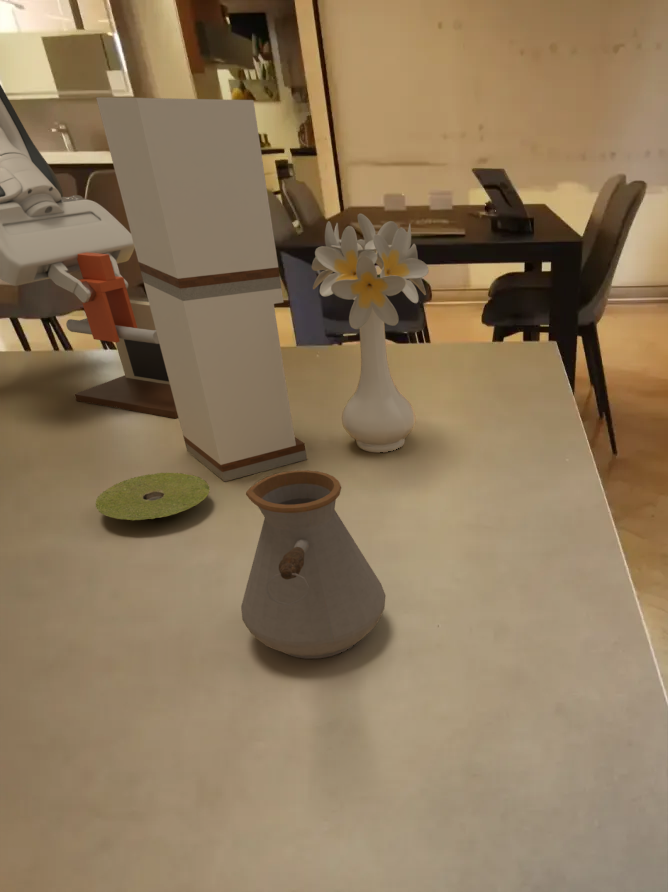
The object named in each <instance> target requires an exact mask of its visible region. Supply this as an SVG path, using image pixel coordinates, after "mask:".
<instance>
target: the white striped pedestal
mask: <svg viewBox="0 0 668 892" xmlns="http://www.w3.org/2000/svg"><path fill="white" fill-rule="evenodd" d="M95 99H96V102H97V106H98V110H99V114H100V118H101V122H102V126H103V130H104V133H105V138H106V141H107V142H106V143H107V146H108V149H109V154H110V158H111V161H112V164H113V169H114V173H115V177H116V180H117V185H118V188H119V192H120V196H121V200H122V204H123V208H124V211H125V217H126V219H127V224H128V227H129V232H130V233H131V235H132V239H133V243H134V247H135V248H134V251H135V254H136V258H137V263H138V265H139V269H140V273H141V278H142V281H143V285H144V290H145V293H146V297H147V300H148V301H147V302H149V305H150V309H151V313H152V316H153V320H154V324H155V328H156V332H157V336H158V340H159V344H160V348H161V351H162V355H163V359H164V363H165V367H166V371H167V375H168V379H169V382H170V386H171V390H172V394H173V398H174V402H175V406H176V410H177V413H178V417H177V418H178V422H179V424H180V425H179V426H180V428H181V433H182V437H183V440H184V445H185V448H186V452H187V453H189V454H190V455H191V456H192V457H193V458H194V459H196V460H197V461H198V462H200V463H201V464H202V465H204V466H205V467H206V468H207V469H208V470H210V471H211V472H212V473H213V474H215V476H217V477H218V478H220V480H222V481H223V482H229V481H232V480H235V479H239V478H243V477H247V476H251V475H254V474H257V473H262V472H266V471H269V470H273V469H276V468H281V467H285V466H287V465H292V464H295V463H299V462H302V461H306V460H308V456H307V449H306V444H305V442H303V441H301V439H299V438H297V437H296V436H295V430H294V425H293V417H292V412H291V411H292V410H291V404H290V399H289V392H288V385H287V381H286V380H287V379H286V373H285V367H284V360H283V354H282V347H281V342H280V341H281V340H280V335H279V329H278V322H277V315H276V309H275V304H276V305H277V304H282V303H284V295H283V289H282V282H281V276H280V268H279V261H278V256H277V249H276V248H277V247H276V243H275V242H276V241H275V236H274V228H273V222H272V215H271V209H270V202H269V194H268V189H267V182H266V174H265V168H264V162H263V155H262V148H261V142H260V134H259V129H258V128H259V127H258V121H257V114H256V108H255V107H256V106H255V102H254V99H219V98H218V99H217V98H216V99H215V98H214V99H213V98H209V99H208V98H169V97H168V98H167V97H166V98H164V97H162V98H161V97H154V98H153V97H101V96H100V97H96V98H95Z"/></svg>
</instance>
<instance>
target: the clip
mask: <svg viewBox="0 0 668 892" xmlns="http://www.w3.org/2000/svg"><path fill="white" fill-rule="evenodd" d="M77 255H78V258H77V261H78V264H79V267H80V271H81V272H80V273H81V277H82V278H79V279H78V280H79V281H81V282H84V281H87V282H88V283H89V285H90V286H91V287H92V288H93V289H94V290H95V292H96V296H95V297H94V300H93V301H90V302H86V303H83V302H82V301H81V304H82V307H83V310H84V314H85V316H86V318H87V320H88V323H89V326H90V329H91V332H92V338H93V340H96V341H103V342H111V343H115V344H116V343H117V342H120V341H119V337H118V334H117V330H116V327H115V325H117V326H124V327H132V328H137V324H136V321H135V317H134V314H133V310H132V306H131V303H130V300H131V299H130V296H129V292H128V288H126V285H125V282H124V279H125V278H124V277H123V276H122V277H118V276H115V274H114V271H113V267H112V264H111V260H110V256H109V254H99V253H89V252H86V253H81V254H77Z"/></svg>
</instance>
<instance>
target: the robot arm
mask: <svg viewBox="0 0 668 892" xmlns="http://www.w3.org/2000/svg"><path fill="white" fill-rule="evenodd" d="M134 251H135V247H134V243H133V239H132V235H131V231H130V230H128V229H127V228H126V227H125V226H124V225H123V224H122V223H121V222H120V221H119V220H118V219H117V218H116V217H115V216H114V215H113V214H111V213H110V212H109V211H108V210H107V209H106V208H105V207H103V206H102V205H101V204H100V203H98V202H96V201H95V200H94V201H93V200H91V199H88V198H84V197H83V196H81V195H79V194H73V195H71V196H64V193H63V189H62V186H61V184H60V181H59V179H58V178H57V175H56V174H55V172H54V171H53V169H52V167H51V166H50V165H49V163H48V162H47V161H46V159H45V157H44V156H43V155H42V153H41V152H40V151H39V149H38V148H37V146H36V145H35V143H34V141H33V139H31V137H30V135H29V134H28V132H27V129H26V128H25V126H24V125H23V123H22V121H21V119H20V117H19V116H18V114H17V112H16V110H15V108H14V107H13V104H12V103H11V101H10V99H9V97H8V95H7V94H6V92H5V90H4V88H3V87H2V84H0V280H1V281H3V282H4V283H7V284H8V285H9V284H10V285H12V286H13V287H18V286H22V285H26V284H32V283H36V282H39V281H44V280H45V281H46V280H51V281H52V282H53V283H54V284H55V285H56V286H58V287H60V288H62V289H64V290H66V291H68V292H70V293H71V294H74V295H75V296H76V297H77V299H78V300H79V301H80V302H81V303H82V302H83V303H86V302H90V301H93V300H94V297H95V296H96V292H95V290H94V289H93V288H92V287H91V286H90V285H89V283H88V282H87V281H84V282H81V281H79V279H78V278H76V277H75V276H73V275H72V274H75V273H76V274H77V273H81V271H80V267H79V264H78V261H77V258H78V255H77V254H81V253H86V252H89V253H99V254H109V256H110V260H111V264H112V267H113V271H114V274H115V276H118V277H123V276H122V275H121V273H120V269H119V266H118V264H122V263H126V262H128V261H129V260H130V258H131V257H132V255H133V253H134ZM124 282H125V285H126V288H127V289H128V288H129V283H128V281H127V280H126V279H125V278H124Z"/></svg>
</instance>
